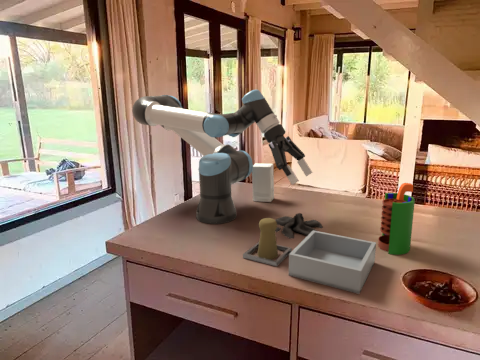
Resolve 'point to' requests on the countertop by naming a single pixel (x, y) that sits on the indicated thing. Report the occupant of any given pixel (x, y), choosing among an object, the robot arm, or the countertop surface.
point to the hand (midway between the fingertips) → (302, 178)
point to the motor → (397, 221)
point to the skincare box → (263, 182)
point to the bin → (333, 260)
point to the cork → (267, 239)
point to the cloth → (296, 225)
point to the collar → (264, 260)
